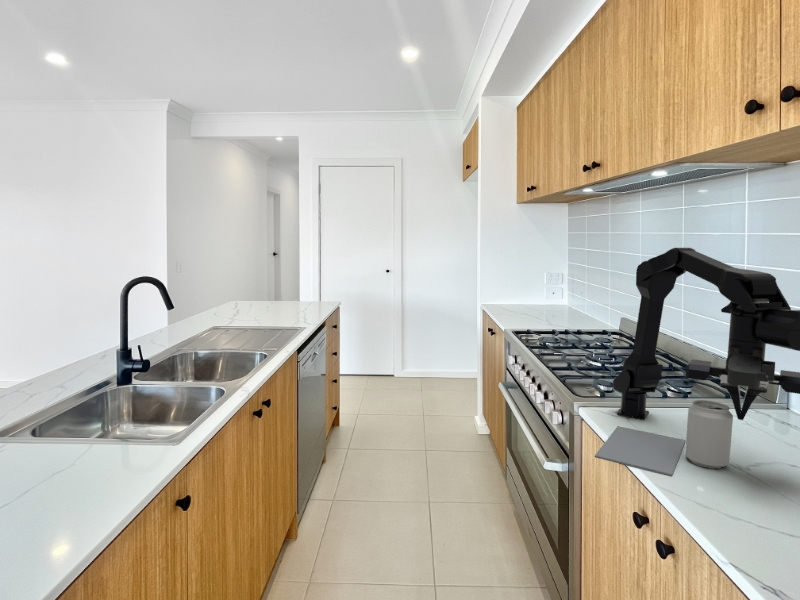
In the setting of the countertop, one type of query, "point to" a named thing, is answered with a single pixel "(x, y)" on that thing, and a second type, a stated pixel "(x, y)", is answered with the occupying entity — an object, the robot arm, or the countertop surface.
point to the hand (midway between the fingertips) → (740, 419)
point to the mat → (642, 450)
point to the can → (709, 434)
